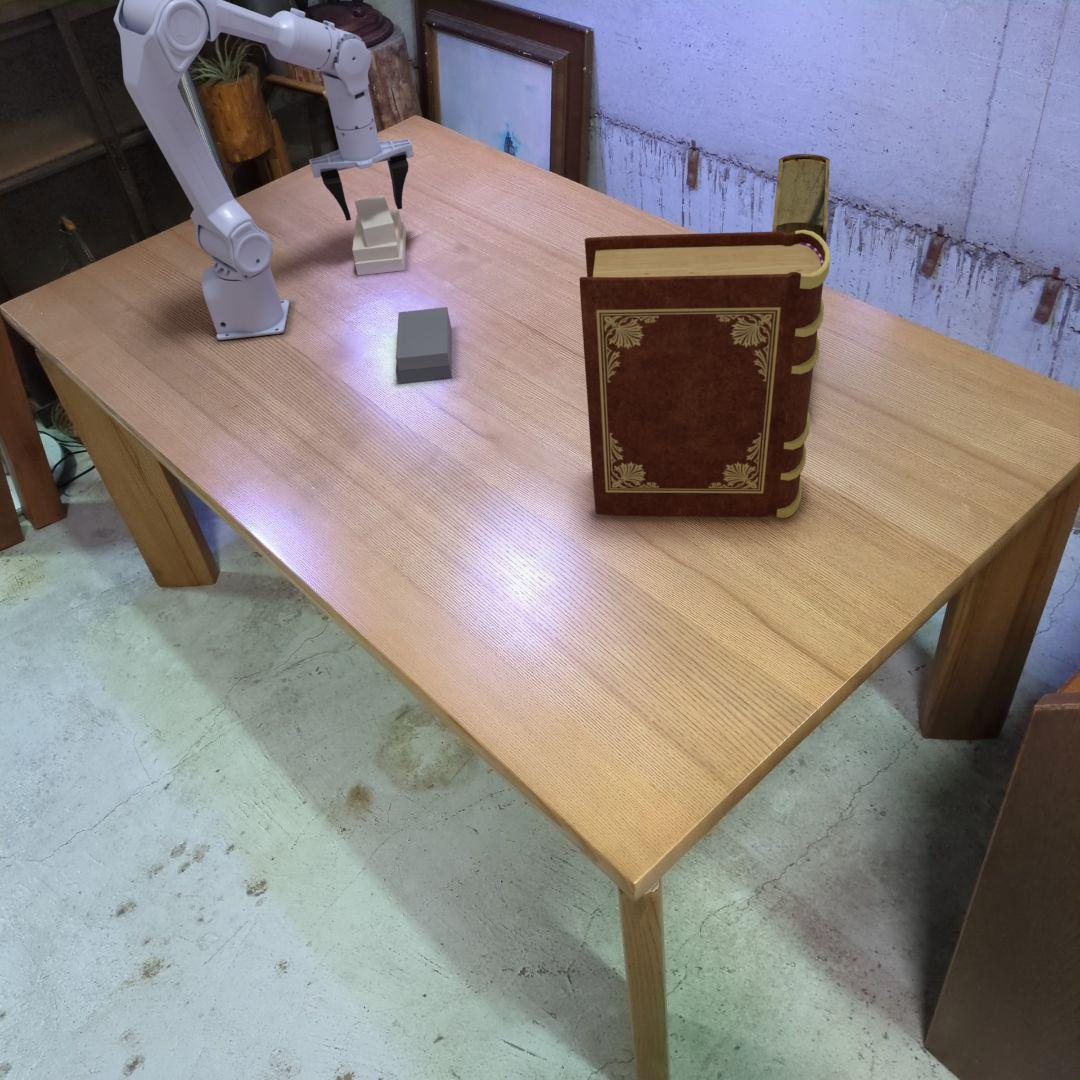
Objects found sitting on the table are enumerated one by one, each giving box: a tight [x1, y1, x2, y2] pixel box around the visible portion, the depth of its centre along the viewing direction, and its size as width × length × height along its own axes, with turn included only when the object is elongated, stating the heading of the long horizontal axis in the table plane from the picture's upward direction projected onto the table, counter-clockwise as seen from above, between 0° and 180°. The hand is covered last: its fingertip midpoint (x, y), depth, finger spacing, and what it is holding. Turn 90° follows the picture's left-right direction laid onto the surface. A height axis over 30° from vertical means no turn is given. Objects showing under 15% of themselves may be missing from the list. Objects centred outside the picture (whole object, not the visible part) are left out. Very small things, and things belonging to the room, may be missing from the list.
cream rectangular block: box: [354, 194, 397, 247], centre depth 157 cm, size 4×9×3 cm, turn 15°
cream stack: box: [351, 209, 407, 276], centre depth 159 cm, size 7×11×4 cm, turn 4°
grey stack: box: [395, 306, 453, 385], centre depth 139 cm, size 7×11×4 cm, turn 4°
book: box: [771, 153, 830, 244], centre depth 122 cm, size 16×6×25 cm, turn 168°
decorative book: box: [579, 230, 831, 519], centre depth 107 cm, size 22×8×30 cm, turn 84°
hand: (373, 211), depth 156 cm, fingers open, 7 cm apart
